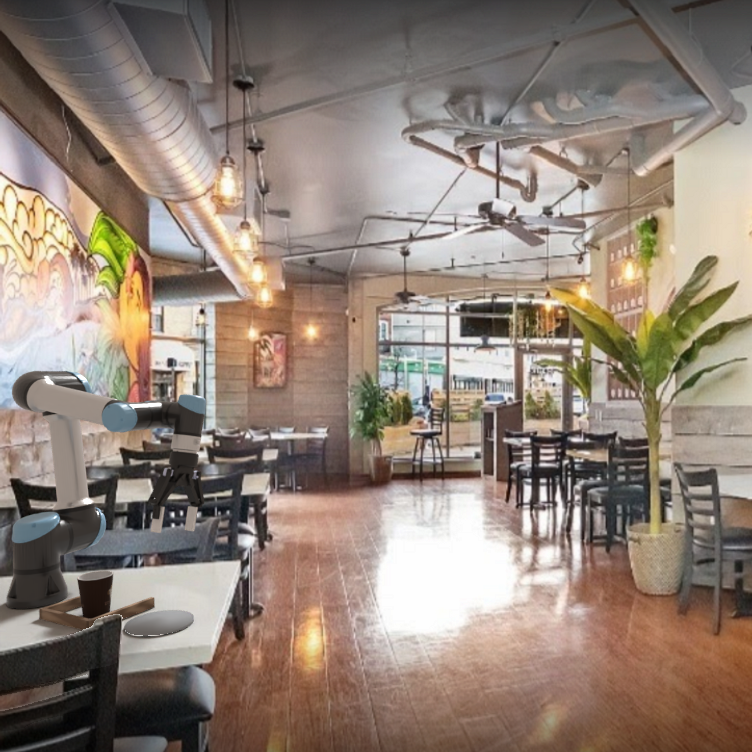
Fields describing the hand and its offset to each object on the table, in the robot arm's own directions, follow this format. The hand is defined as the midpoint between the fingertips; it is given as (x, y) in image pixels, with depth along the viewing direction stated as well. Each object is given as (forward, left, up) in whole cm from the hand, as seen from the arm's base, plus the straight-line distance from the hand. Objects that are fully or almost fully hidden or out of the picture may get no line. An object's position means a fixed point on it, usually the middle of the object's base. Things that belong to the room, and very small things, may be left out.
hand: (173, 531), depth 170 cm
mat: (+13, -3, -20) cm, 24 cm away
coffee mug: (-2, -19, -20) cm, 27 cm away
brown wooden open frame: (-2, -19, -20) cm, 27 cm away
